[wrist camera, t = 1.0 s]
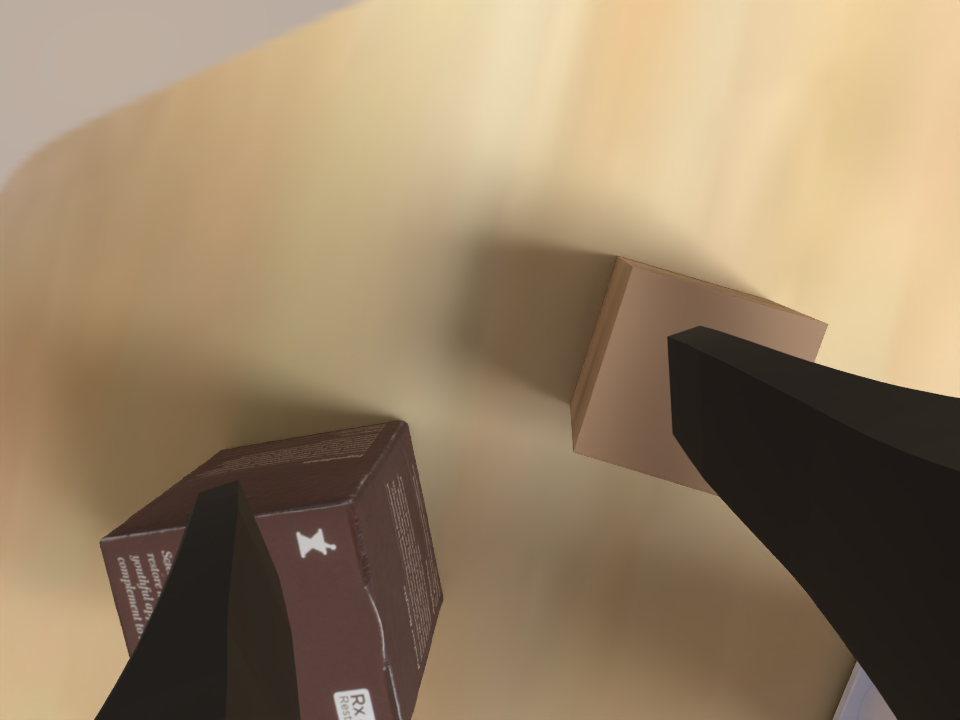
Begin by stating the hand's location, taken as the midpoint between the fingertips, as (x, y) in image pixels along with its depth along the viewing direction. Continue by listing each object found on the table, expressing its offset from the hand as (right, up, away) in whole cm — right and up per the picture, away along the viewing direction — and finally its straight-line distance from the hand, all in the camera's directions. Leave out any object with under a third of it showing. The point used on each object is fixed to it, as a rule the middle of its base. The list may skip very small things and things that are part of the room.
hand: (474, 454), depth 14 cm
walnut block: (+6, +2, +11) cm, 12 cm away
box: (-4, -4, +13) cm, 14 cm away
